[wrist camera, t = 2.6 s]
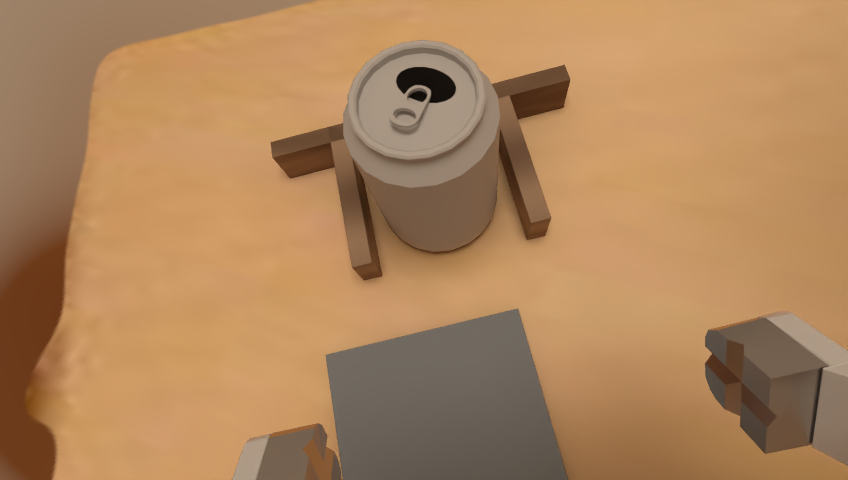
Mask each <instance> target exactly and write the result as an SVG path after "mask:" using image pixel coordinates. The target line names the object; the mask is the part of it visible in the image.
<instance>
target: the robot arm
mask: <svg viewBox="0 0 848 480" xmlns="http://www.w3.org/2000/svg"><path fill="white" fill-rule="evenodd" d="M705 346H706V347H707V348H708V349H709V350H710V351H711V352H712V354H711V356H710V357H709V359H708V360H707V361H706V363H705V373H706V379H707V382H708V385H709V387H710V390H711V392H712V393H713V395H714V397H715V398H716V400H717V401H718V402H719V403H720V404H721V405H722V407H723V408H724V409H725V410H728V411H730V412H732V413H735V414H737V415H739V416H740V427H741V428H742V429H743V430H744V431H745V432H746V433H747V434H748V436H749V437H750V438H751V439H752V440H753V441H754V442H755V443H756V444H757V445H758V447H759V448H760V449H761V450H762V451H763V452H764V453H765V454H767V453H772V452H777V451H782V450H787V449H792V448H797V447H802V446H807V445H812V447H813V448H815V449H817V450H819V451H821V452H823V453H825V454H827V455H828V456H830V457H832V458H834V459H836V460H838V461H840V462H842V463H844V464H846V465H848V351H847V350H846V349H844V348H843V347H841V346H840V345H838V344H837V343H835V342H834V341H832V340H831V339H829V338H828V337H826V336H825V335H824V334H822V333H821V332H819V331H818V330H816V329H815V328H813V327H812V326H810V325H809V324H807V323H806V322H805V321H803V320H802V319H800V318H799V317H797V316H796V315H794V314H793V313H791V312H787V311H780V312H776V313H772V314H768V315H764V316H761V317H758V318H754V319H750V320H746V321H742V322H738V323H734V324H730V325H726V326H722V327H718V328H714V329H710V330H708V332H707V334H706V336H705ZM326 443H327V434H326V432H325V430H324V428H323V426H322V425H321V424H318V423H317V424H312V425H308V426H303V427H298V428H294V429H289V430H284V431H280V432H275V433H272V434H268V435H263V436H259V437H254V438H250V439H249V440H248V441H247V442H246V443H245V445H244V447H243V450H242V453H241V456H240V458H239V461H238V464H237V467H236V470H235V473H234V475H233V478H232V480H341V470H340V466H339V463H338V459H337V457H336V454H335V452H334V451H333V450H331V449H329V448H327V447H326Z"/></svg>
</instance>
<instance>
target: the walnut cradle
mask: <svg viewBox="0 0 848 480" xmlns="http://www.w3.org/2000/svg"><path fill="white" fill-rule="evenodd" d="M569 83H570V77H569V75H568V72H567V70H566V67H565V65H562V66H558V67H555V68H551V69H547V70H543V71H540V72H536V73H532V74H528V75H524V76H521V77H517V78H513V79H509V80H505V81H502V82H498V83H494V84H492V86H493V88H494V90H495V92H496V94H497V96H498V103H499V111H500V134H499V153H500V156H501V160H502V163H503V166H504V169H505V172H506V175H507V179H508V182H509V185H510V188H511V191H512V194H513V198H514V201H515V204H516V207H517V210H518V213H519V217H520V220H521V223H522V226H523V229H524V232H525V236H526V239H527V240H528V239H533V238H537V237H541V236H545V235H546V232H547V229H548V226H549V223H550V220H551V216H550V213H549V210H548V207H547V204H546V201H545V198H544V195H543V192H542V189H541V186H540V184H539V181H538V178H537V175H536V172H535V169H534V166H533V163H532V160H531V157H530V154H529V151H528V148H527V145H526V143H525V140H524V137H523V134H522V131H521V128H520V125H519V122H518V119H520V118H524V117H528V116H532V115H536V114H539V113H543V112H547V111H551V110H555V109H559V108H563V107H564V103H565V99H566V95H567V91H568V87H569ZM271 149H272V157H273V159H274V160H275V161H276V162H277V163H278V164H279V166H280V167H281V168H282V169H283V170H284V171H285V173H286V174H287V175H288V176H289V177H290V178H293V177H296V176H300V175H304V174H308V173H312V172H316V171H320V170H323V169H327V168H331V167H335V170H336V176H337V182H338V188H339V194H340V200H341V206H342V211H343V217H344V223H345V229H346V235H347V241H348V247H349V253H350V258H351V264H352V268H353V269H354V270H355V271H356V272H357V273H358V274H359V275H360V276H361V277H362V278H363V279H364V280H367V279H371V278H375V277H379V276H382V272H381V267H380V262H379V257H378V251H377V246H376V241H375V236H374V231H373V225H372V220H371V215H370V210H369V205H368V199H367V194H366V189H365V184H364V179H363V177H362V175H361V173H360V171H359V169H358V168H357V166H356V164H355V162H354V160H353V158H352V157H351V155H350V152H349V149H348V147H347V144H346V141H345V138H344V136H343V123H342V124H338V125H334V126H331V127H327V128H323V129H319V130H315V131H312V132H308V133H304V134H300V135H296V136H293V137H289V138H285V139H281V140H278V141H274V142H271Z"/></svg>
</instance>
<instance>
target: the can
mask: <svg viewBox="0 0 848 480" xmlns="http://www.w3.org/2000/svg"><path fill="white" fill-rule="evenodd" d="M499 134H500V111H499V103H498V96H497V94H496V92H495V90H494V88H493V86H492V84H491V82H490V81H489V79H488V77H487V76H486V75H485V74H484V73H482V72H481V71H480V70H479V68H478V66H477V64H476V63H475V62H474V61H473V60H472V59H471V58H470V57H468V56H467V55H466V54H465V53H464V52H463V51H462V50H460V49H457V48H455V47H453V46H450V45H448V44H446V43H443V42H435V41H428V40H419V41H411V42H404V43H400V44H398V45H395V46H393V47H390V48H388V49H385V50H383V51H381V52H380V53H379V54H377V55H376V56H375V57H373V58H372V59H371V60H369V61H368V62H367V63H366V64H365V65H364V66H363V68H362V69H361V70H360V71H359V73H358V74H357V75H356V77H355V78H354V80H353V83H352V86H351V88H350V91H349V94H348V103H347V106H346V108H345V111H344V114H343V136H344V138H345V141H346V144H347V147H348V149H349V152H350V155H351V157H352V158H353V160H354V162H355V164H356V166H357V168H358V169H359V171H360V173H361V175H362V177H363V179H364V180H365V182H366V184H367V186H368V188H369V190H370V191H371V193H372V195H373V197H374V199H375V201H376V202H377V204H378V206H379V208H380V210H381V212H382V213H383V215H384V217H385V219H386V221H387V223H388V224H389V226H390V227H391V229H392V230H393V231H394V232H395V233H396V235H397V236H398V237H399V238H400V239H401V240H403V241H404V242H406V243H408V244H409V245H411V246H413V247H415V248H418V249H422V250H427V251H431V252H438V251H450V250H454V249H456V248H459V247H461V246H464V245H466V244H469V243H470V242H471V241H472V240H474V239H475V238H476V237H477V236H479V235H480V234H481V233H482V232H483V231H484V230H485V228H486V226H487V225H488V223H489V222H490V220H491V219H492V217H493V213H494V209H495V205H496V200H497V178H498V156H499Z"/></svg>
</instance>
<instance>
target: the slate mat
mask: <svg viewBox="0 0 848 480" xmlns="http://www.w3.org/2000/svg"><path fill="white" fill-rule="evenodd" d="M326 361H327V368H328V375H329V382H330V390H331V397H332V404H333V411H334V418H335V425H336V433H337V440H338V447H339V454H340V461H341V468H342V476H343V480H568V478H567V475H566V471H565V468H564V465H563V461H562V458H561V454H560V451H559V447H558V444H557V441H556V437H555V434H554V430H553V427H552V423H551V420H550V417H549V413H548V410H547V406H546V403H545V399H544V396H543V393H542V389H541V386H540V382H539V379H538V376H537V372H536V369H535V365H534V362H533V358H532V355H531V352H530V348H529V345H528V341H527V338H526V334H525V331H524V328H523V324H522V321H521V317H520V314H519V310H518V309H514V310H510V311H506V312H502V313H498V314H494V315H490V316H485V317H481V318H477V319H473V320H469V321H465V322H461V323H456V324H452V325H448V326H444V327H440V328H436V329H431V330H427V331H423V332H419V333H415V334H411V335H407V336H402V337H398V338H394V339H390V340H386V341H382V342H377V343H373V344H369V345H365V346H361V347H357V348H353V349H348V350H344V351H340V352H336V353H332V354H328V355H326Z"/></svg>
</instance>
